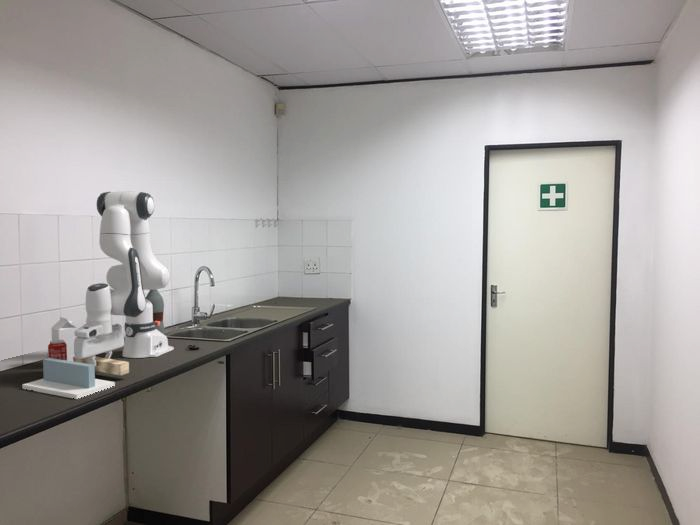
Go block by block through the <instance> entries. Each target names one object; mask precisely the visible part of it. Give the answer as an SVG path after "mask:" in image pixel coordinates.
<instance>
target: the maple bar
mask: <svg viewBox="0 0 700 525" xmlns="http://www.w3.org/2000/svg"><path fill="white" fill-rule="evenodd" d="M95 360H96V361H98V366H96V367H95V372H97V373H98V372H100V373H105V374H110V375H116V376H124V375H127V374H129V373H130V362H129V361H125V360H117V359H112V358H110V359H108V358H105V357H100V356H96V357H95ZM73 362H79V363H86V364H92V363H91V361H90V359H89V358H88V357H86V358H83V359H81V358H77V357H76V356H74V357H73Z"/></svg>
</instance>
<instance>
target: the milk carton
mask: <svg viewBox="0 0 700 525" xmlns="http://www.w3.org/2000/svg"><path fill="white" fill-rule="evenodd" d="M73 323H74V322H73V321H72V320H70V319H69V318H65V317H64V316H63V317H62V316H59V320H58V321H56V323H55V324H54V325H53V326H51V341H54V340H64V341H65V343H66V344H67V361H73V357H74V356H75V355H74V341H75V338H76V337H77V336H75V335H74V332H75V330H77V329H78V328H77V327H76V326H75V325H73Z"/></svg>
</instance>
